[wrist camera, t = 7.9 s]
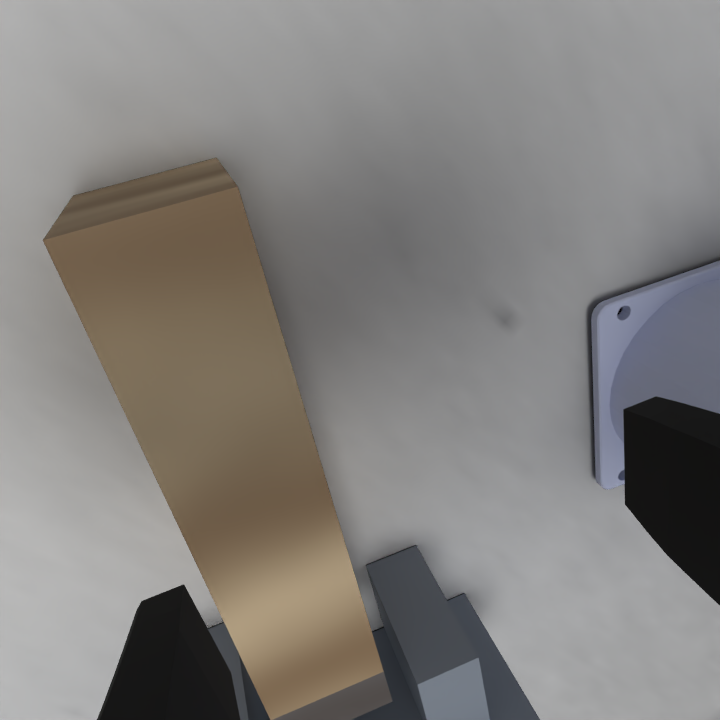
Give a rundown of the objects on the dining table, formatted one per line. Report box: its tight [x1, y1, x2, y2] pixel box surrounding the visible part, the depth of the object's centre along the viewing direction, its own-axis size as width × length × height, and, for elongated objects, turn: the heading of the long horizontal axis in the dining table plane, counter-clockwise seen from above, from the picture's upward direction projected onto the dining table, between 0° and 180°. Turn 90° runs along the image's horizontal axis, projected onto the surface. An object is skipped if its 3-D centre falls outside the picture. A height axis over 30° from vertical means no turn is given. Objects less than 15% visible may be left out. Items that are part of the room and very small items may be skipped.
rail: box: [43, 158, 392, 720], centre depth 17 cm, size 16×4×4 cm, turn 12°
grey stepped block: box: [208, 546, 540, 720], centre depth 20 cm, size 12×6×6 cm, turn 102°
